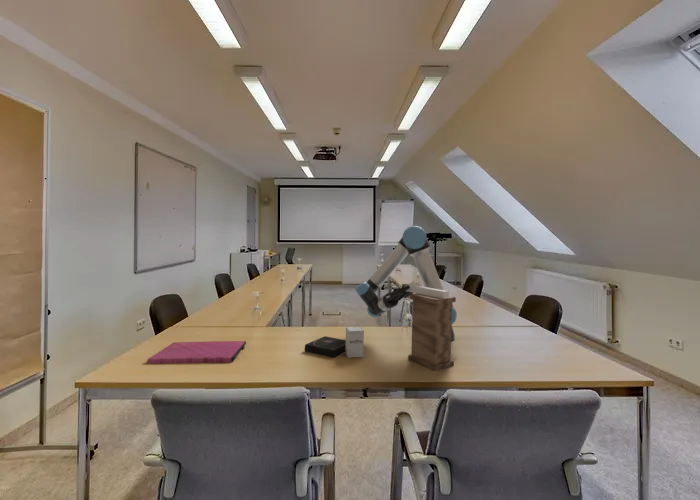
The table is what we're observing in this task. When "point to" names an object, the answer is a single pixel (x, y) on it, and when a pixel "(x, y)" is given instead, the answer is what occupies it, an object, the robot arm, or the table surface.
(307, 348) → the portable cd player
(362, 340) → the supplement box
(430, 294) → the white long bar
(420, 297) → the stand
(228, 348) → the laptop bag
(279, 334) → the table surface
